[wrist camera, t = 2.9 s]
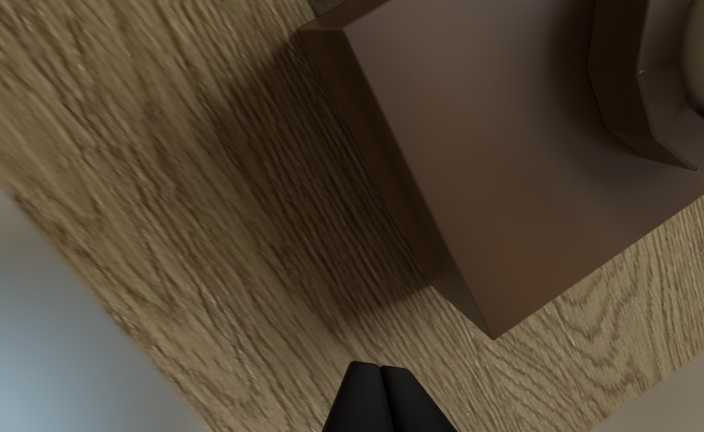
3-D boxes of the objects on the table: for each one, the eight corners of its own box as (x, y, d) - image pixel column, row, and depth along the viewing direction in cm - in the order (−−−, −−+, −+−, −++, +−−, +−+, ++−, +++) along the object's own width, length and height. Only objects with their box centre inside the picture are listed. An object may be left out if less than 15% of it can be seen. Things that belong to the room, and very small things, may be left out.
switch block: (431, 285, 21) (530, 375, 15) (296, 28, 17) (367, 27, 11) (693, 110, 22) (867, 134, 17) (629, -165, 18) (831, -247, 13)
